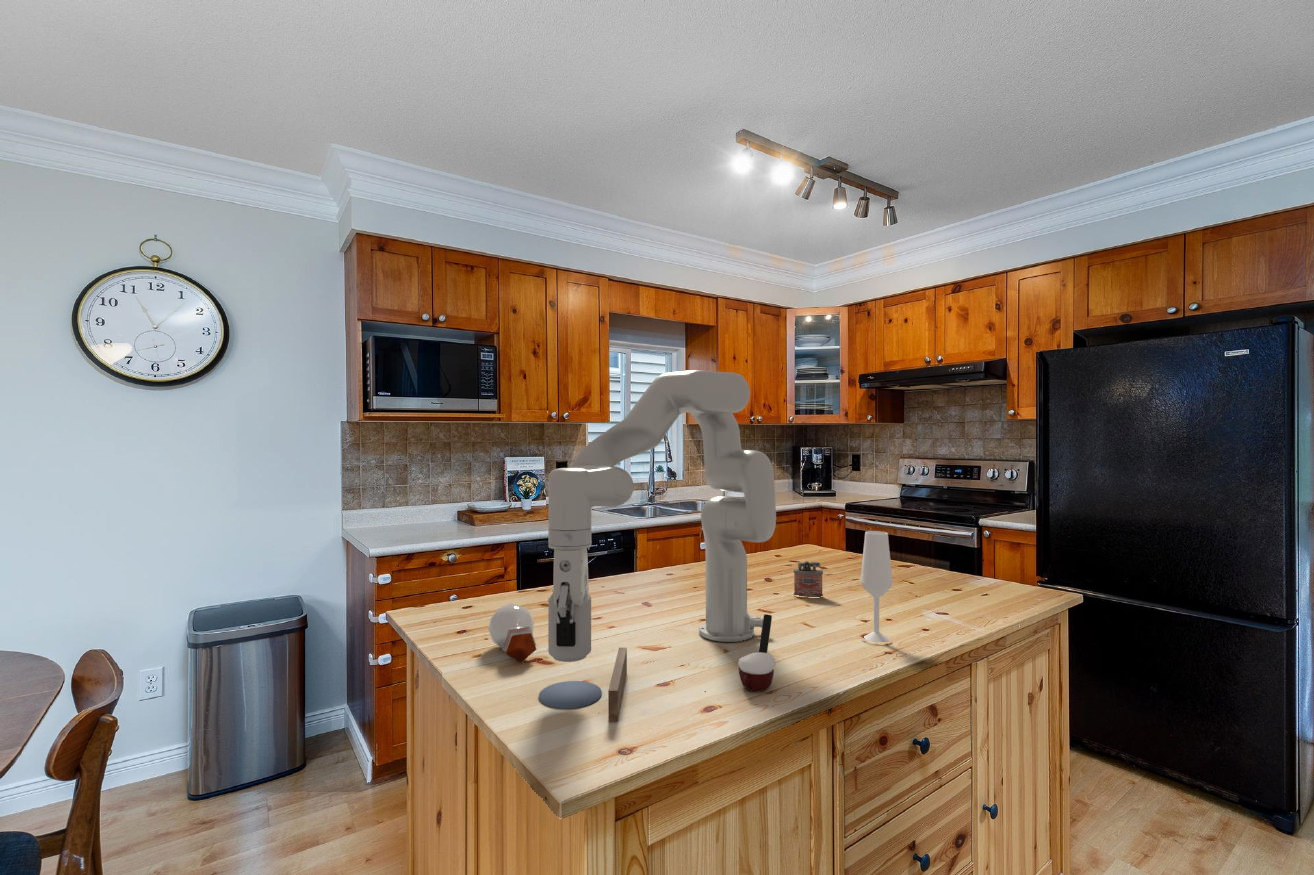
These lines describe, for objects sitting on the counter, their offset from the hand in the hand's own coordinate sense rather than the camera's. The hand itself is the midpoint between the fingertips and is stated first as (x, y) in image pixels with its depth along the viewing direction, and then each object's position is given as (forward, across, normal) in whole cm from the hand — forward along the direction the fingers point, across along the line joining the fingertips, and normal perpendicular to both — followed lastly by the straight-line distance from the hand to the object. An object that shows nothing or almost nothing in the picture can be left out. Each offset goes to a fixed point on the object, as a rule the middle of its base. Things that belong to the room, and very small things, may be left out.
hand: (569, 637), depth 109 cm
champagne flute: (+10, +30, -64) cm, 71 cm away
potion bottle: (+10, +22, +15) cm, 29 cm away
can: (+3, 0, 0) cm, 3 cm away
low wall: (+10, 0, -9) cm, 13 cm away
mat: (+10, 0, 0) cm, 10 cm away
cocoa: (+10, +4, -34) cm, 35 cm away
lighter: (+10, +67, -57) cm, 88 cm away
